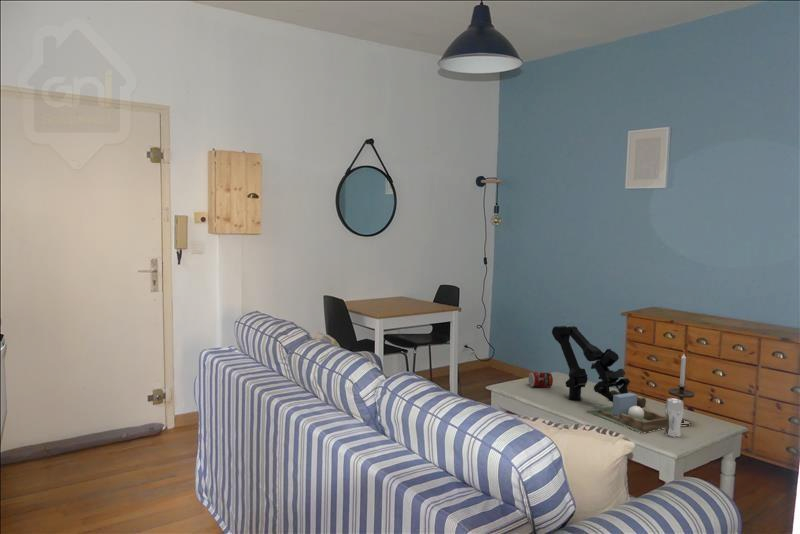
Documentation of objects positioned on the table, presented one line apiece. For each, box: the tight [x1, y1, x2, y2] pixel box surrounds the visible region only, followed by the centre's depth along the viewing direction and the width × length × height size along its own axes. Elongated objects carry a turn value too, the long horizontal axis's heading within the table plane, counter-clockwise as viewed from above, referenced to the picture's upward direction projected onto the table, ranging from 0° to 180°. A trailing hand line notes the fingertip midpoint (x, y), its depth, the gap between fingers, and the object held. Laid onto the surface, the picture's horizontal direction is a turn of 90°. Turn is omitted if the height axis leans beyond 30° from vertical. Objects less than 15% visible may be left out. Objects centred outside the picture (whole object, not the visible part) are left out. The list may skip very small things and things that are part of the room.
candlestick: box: [667, 347, 696, 425], centre depth 266 cm, size 11×11×35 cm
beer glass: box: [664, 397, 685, 437], centre depth 251 cm, size 7×7×15 cm
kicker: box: [612, 392, 638, 418], centre depth 272 cm, size 4×11×10 cm, turn 117°
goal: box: [587, 406, 667, 434], centre depth 270 cm, size 32×19×4 cm, turn 27°
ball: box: [628, 405, 644, 420], centre depth 266 cm, size 7×7×7 cm
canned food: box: [528, 372, 554, 388], centre depth 321 cm, size 8×8×11 cm
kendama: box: [610, 390, 647, 408], centre depth 297 cm, size 6×10×20 cm
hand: (621, 400), depth 274 cm, fingers open, 9 cm apart
